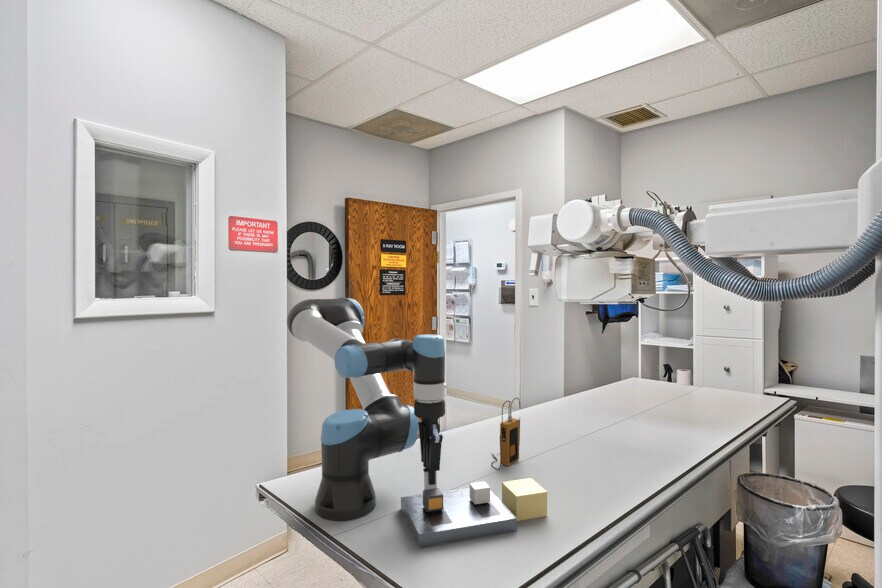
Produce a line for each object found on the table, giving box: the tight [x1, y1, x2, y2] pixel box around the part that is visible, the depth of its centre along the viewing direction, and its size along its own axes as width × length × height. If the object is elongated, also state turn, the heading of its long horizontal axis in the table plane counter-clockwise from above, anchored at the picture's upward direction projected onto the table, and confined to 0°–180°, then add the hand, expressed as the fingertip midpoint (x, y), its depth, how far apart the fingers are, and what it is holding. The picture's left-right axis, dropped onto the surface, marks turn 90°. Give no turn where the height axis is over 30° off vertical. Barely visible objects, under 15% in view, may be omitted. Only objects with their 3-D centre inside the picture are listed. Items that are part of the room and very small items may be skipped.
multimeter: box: [490, 397, 521, 471], centre depth 149 cm, size 15×10×20 cm
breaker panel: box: [400, 486, 518, 549], centre depth 112 cm, size 23×18×3 cm
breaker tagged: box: [422, 487, 443, 512], centre depth 111 cm, size 4×4×4 cm
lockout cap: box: [501, 477, 548, 522], centre depth 117 cm, size 8×8×6 cm
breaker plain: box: [469, 480, 491, 504], centre depth 115 cm, size 4×4×4 cm
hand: (430, 495), depth 114 cm, fingers closed
